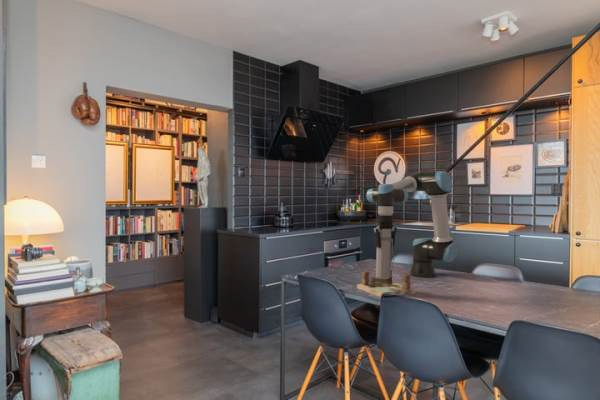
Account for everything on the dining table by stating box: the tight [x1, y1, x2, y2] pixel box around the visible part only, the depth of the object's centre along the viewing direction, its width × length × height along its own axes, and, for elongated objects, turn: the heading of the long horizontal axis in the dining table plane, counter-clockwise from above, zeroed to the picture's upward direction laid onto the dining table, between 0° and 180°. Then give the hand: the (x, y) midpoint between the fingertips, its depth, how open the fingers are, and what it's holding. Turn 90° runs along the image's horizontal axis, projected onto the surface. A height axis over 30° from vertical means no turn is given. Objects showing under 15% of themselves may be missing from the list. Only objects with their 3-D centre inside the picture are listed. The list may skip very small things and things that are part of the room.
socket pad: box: [371, 286, 399, 293], centre depth 196 cm, size 10×10×1 cm
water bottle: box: [375, 229, 395, 279], centre depth 196 cm, size 9×8×25 cm
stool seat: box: [356, 269, 416, 298], centre depth 203 cm, size 21×21×9 cm
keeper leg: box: [369, 276, 393, 287], centre depth 204 cm, size 3×13×4 cm, turn 110°
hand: (384, 261), depth 196 cm, fingers open, 2 cm apart
